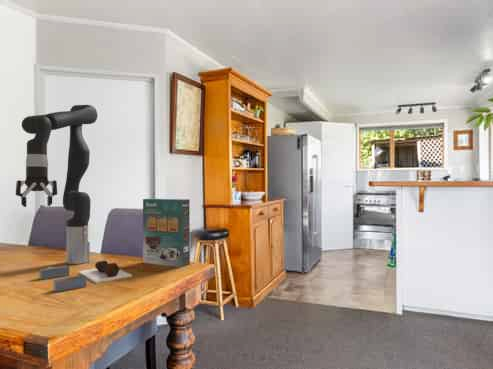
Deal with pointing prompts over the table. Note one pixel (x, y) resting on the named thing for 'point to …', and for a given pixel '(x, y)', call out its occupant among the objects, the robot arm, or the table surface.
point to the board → (103, 275)
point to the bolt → (107, 268)
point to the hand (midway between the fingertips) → (37, 206)
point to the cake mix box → (166, 232)
